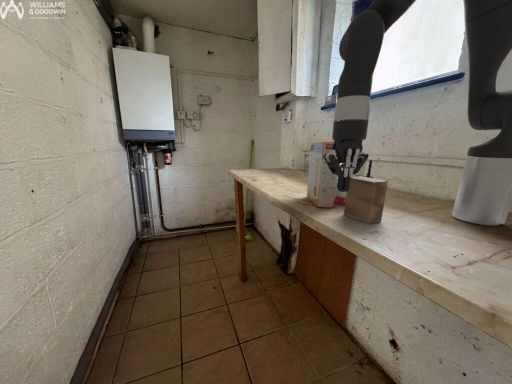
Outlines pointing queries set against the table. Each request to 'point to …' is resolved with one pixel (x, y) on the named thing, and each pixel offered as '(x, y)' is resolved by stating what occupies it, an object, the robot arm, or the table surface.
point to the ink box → (340, 194)
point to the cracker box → (321, 176)
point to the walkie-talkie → (369, 170)
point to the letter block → (365, 199)
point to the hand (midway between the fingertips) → (342, 191)
